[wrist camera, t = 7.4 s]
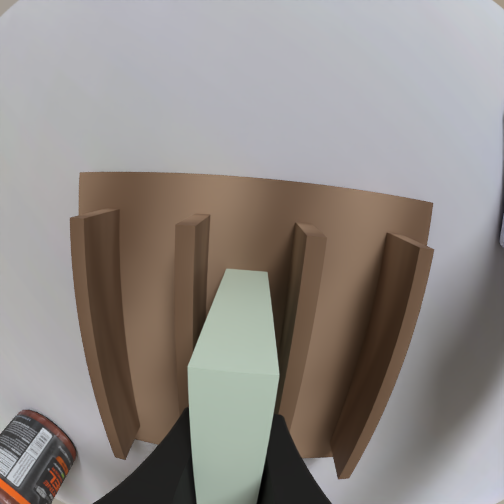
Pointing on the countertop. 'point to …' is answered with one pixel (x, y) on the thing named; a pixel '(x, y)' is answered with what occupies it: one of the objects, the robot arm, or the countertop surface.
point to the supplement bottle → (33, 459)
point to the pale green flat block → (233, 390)
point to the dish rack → (281, 292)
